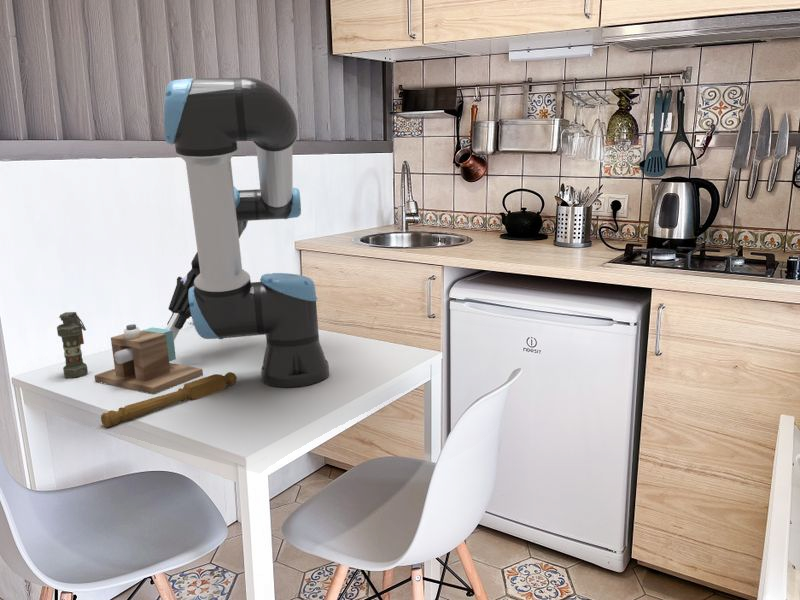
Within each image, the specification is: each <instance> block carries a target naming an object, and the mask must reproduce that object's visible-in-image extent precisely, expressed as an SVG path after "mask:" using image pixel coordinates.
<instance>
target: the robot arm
mask: <svg viewBox="0 0 800 600" xmlns="http://www.w3.org/2000/svg"><path fill="white" fill-rule="evenodd" d="M164 94H165V95H164V104H163V105H164V106H163V122H164V123H163V129H164V137H165V142H166V143H167V144H170V146H171V145H173V146H174V147H175V148H174V149H175V153H176V155H177V156H178V157H179V158H181V160H183V161H184V163H185V166H186V172H187V173H186V175H187V183H188V189H189V199H190V206H191V213H192V219H193V227H194V235H195V241H196V250H197V252H196V253H195V255H194V256H193V257H192V258H193V259H192V261H191V262H190V264H191V269H190V270H189V271H188V272H187V274H186V276H184V277H182V276H177V278H176V286H175V289H174V292H173V293H172V297H171V300H170V302H169V306H168V307H167V308H168V310H169V311H170V312H171V313H172V314H171V316H170V317H169V320H168V321H167V322H166V323H167V325H166V326H165V329H167V330H173V338H174V341H175V340H176V338H177V337H178V335H179V333H180V331H181V330H182V329H183V328H184V325H185V324H186V322H187V319H190V318H191V316H192V318H191V320H192V323H193V326H194V328H195V331H196V332H197V335H198V336H199V337H201V338H202V339H204V340H215V339H218V340H224V339H232V338H241V337H243V338H244V337H253V336H261V335H263V336H264V335H265V340H266V341H265V342H266V348H265V353H264V356H263V362H262V366H261V370H260V376H261V381H262V383H263V384H265V385H268V386H271V387H275V388H276V387H279V388H295V387H297V388H298V387H304V386H310V385H314V384H317V383H319V382H322V381H324V380H325V379H327V378H328V377H329V375H330V366H329V362H328V360H327V359H326V356H325V354H324V353H325V352H324V350H323V347H322V345H321V342H320V335H319V322H318V320H319V319H318V311H317V301H318V297H317V294H316V293H317V292H316V287H315V282H314V281H313V279H311V278H310V277H308V276H305V275H302V274H297V273H284V272H283V273H282V272H273V273H265V274H262V275H261V277H260V280H259V281H256V282H255V281H253V282H251V275H250V274H249V272H247V271H246V270H244V268H243V266H242V265H243V264H242V263H243V262H242V255H241V247H240V238H241V236H242V234H243V233H244V231H245V229H246V228H247V225H248V222H250V221H251V222H252V221H263V220H265V221H266V220H288V219H295V218H299V217H300V216H301V213H302V209H301V208H302V204H301V194H300V190H299V189H298V188H297V187H293V186H294V185H293V145H294V143H295V142H296V140H297V137H298V120H297V116H296V114H295V110H293V107H292V105H291V103H289V101H288V100H287V99H286V97H285V96H284V95H283V94H282V92H280V91H278V90H277V89H276V88H275V87H273V86H272V85H270V84H269V83H267V82H265V81H263V80H260V79H257V78H253V77H218V78H217V77H213V78H212V77H200V78H199V77H197V78H196V77H192V78H191V77H190V78H185V79H184V78H182V79H174V80H171V81H170V82H169V83H168V84H167V86H166V89H165V93H164ZM244 141H245V142H247V141H252V142H253V144H254V145H255V146H256V147H255V149H256V157H257V158H256V159H257V168H258V177H259V179H258V180H259V189H241V190H240V189H237V188H236V186H234V179H233V170H232V169H233V168H232V158H233V156H235V154H236V153H237V152H238V151H239V150H238V142H244Z"/></svg>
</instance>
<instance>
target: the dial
mask: <svg viewBox="0 0 800 600" xmlns="http://www.w3.org/2000/svg"><path fill="white" fill-rule="evenodd" d="M139 330H140V327H138V326H137V324H133V323H132V324H128V325H126V328H124V329H123V334H124V335H125V339H127V340H131V339H137V338H140V331H141V330H140V331H139Z"/></svg>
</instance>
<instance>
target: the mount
mask: <svg viewBox="0 0 800 600" xmlns="http://www.w3.org/2000/svg"><path fill="white" fill-rule="evenodd" d="M139 331H140V338H137V339H131V340H127V339H125V335H124V333H121V334H119V335H115V336H111V337H110V343H111V350H112V358H113V364H114V365H113V366H114V368H112V369H110V370H107V371H104V372H100V373H98V374H95V375H94V382H95V381H97V382H96V383H99V382H102V383H101V384H104V383H106V384H105V385H109V384H110V385H109V386H113V385H114V387H118V386H119V388H122V387H123V389H129V390H133V391H136V390H138V391H137V392H141V391H143V392H142V393H146V392H148V393H147V394H150V393H152V394H151V395H155V393H156V394H158V393H160V391H161V392H163V391H165V390H164V389H166V390H167V389H168V390H169V389H170V387H171V388H173V386H174V387H175V386H178V384H179V385H181V384H185V383H186V382H189V381H190V380H194V379H196V378H198V377H202V376H203V375H204V372H203V371H204V370H203V368H201V367H195V366H189V365H185V364H178V363H172V362H169V357H168V348H167V340H166V334H160V333H153V332H146V331H142V330H140V329H139ZM130 347H132V352H133V360H131V361H128V362H125V363H122V364H118V363H117V362H116V361H115V358H114V354H115V352H117V351H121V350H124V349H127V348H130ZM162 390H163V391H162ZM157 392H158V393H157Z"/></svg>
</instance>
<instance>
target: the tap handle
mask: <svg viewBox="0 0 800 600" xmlns="http://www.w3.org/2000/svg"><path fill="white" fill-rule="evenodd" d="M237 379H238V378H237V375H236V374H235V372H231V371H228V372H226V373H225V374H224V375H223V374H217V373H216V374H215V373H214V374H211V375H209V376H205V377H202V378H199V379H196V380H192V381H190V382H189V381H188V382H187V383H186V382H185V383H183V384H184V385H183V387H182V388H181V387H180V388H178V389H177V390H176V391H173V392H170V393H165V394H162V395H159V396H156V397H151V398H148V399H144V400H141V401H138V402H133V403H131V404H128V405H125V406H124V407H122V406H121V407H118V410H108V411H107V412H104V413H102V414H101V415H100V420H101V421H100V422H101V424H102V425H103V426H104V428H110V427H112V426H116V425H117V424H119V423H120V422H124V423H125V422H126V421H131V420H133V419H136V418H139V417H141V416H144V415H147V414H150V413H152V412H154V411H157V410H160V409H162V408H165V407H168V406H170V405H172V404H176V403H178V402H180V401H181V402H185V401H187V400H189V401H196V400H197V399H201V398H204V397H207V396H209V395H212V394H214V393H218V392H221V391H223V390H225V389H226V386H227V385H229V386H232V385H234V384H235V383H236V382H237Z"/></svg>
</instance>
